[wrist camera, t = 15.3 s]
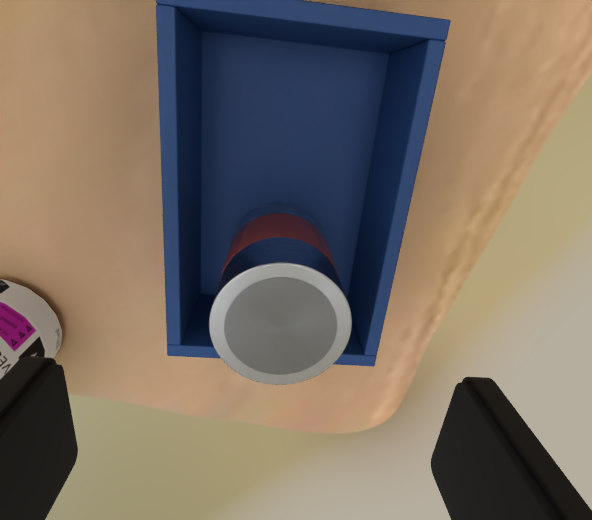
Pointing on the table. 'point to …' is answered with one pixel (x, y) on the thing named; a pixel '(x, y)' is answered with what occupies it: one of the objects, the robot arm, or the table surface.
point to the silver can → (279, 299)
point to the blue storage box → (289, 143)
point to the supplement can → (25, 326)
